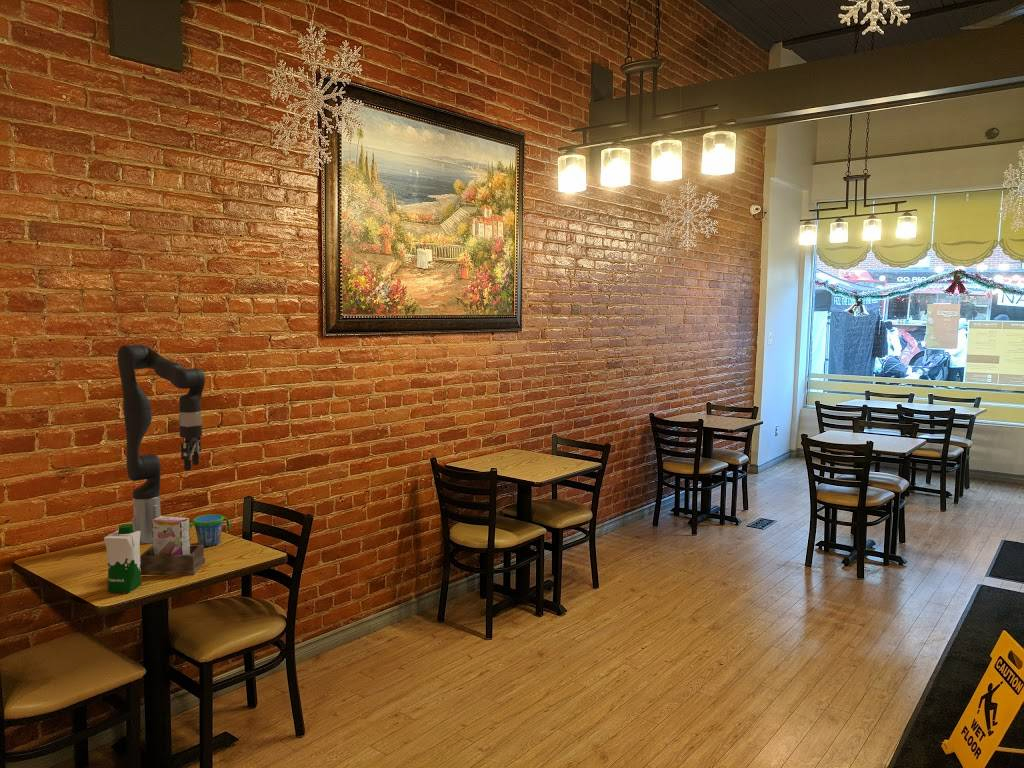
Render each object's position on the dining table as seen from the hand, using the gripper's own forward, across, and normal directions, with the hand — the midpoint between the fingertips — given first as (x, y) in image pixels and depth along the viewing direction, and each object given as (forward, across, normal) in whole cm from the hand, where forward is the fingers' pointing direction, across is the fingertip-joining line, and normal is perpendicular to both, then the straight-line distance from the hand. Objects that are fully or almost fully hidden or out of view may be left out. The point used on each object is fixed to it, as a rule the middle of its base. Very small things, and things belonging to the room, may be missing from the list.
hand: (191, 467), depth 265 cm
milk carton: (+32, +36, -10) cm, 49 cm away
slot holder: (+31, +18, -1) cm, 36 cm away
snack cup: (+32, -8, +3) cm, 33 cm away
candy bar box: (+30, +18, -1) cm, 35 cm away
